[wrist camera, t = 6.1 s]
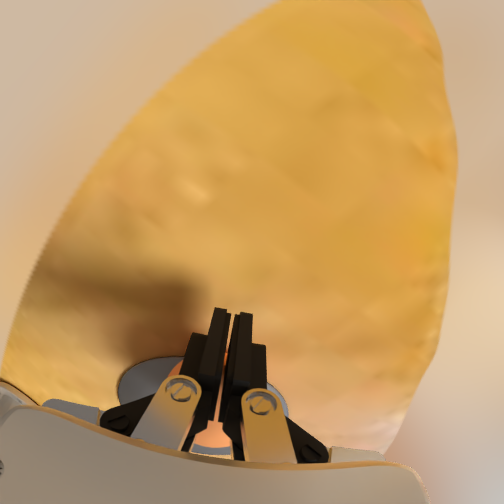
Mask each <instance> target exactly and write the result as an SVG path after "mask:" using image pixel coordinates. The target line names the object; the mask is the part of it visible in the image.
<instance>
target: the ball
mask: <svg viewBox="0 0 504 504" xmlns="http://www.w3.org/2000/svg"><path fill="white" fill-rule="evenodd" d="M227 354H228V353H225V358H224V364H223V371H222V377H221V383H220V388H219V394H218V399H217V405H216V411H215V416H214V421H209V420H208V426H207V429H205V430H203V431H202V432H200V433H198V434H197V438H196V440H195V444H198V445H201V446H205V447H211V448H221V447H228V446H230V438H229V437H228V436H227V435H226V434H225V433H224V432H223V430H222V425H223V423H221V422H218V416H219V409H220V402H221V394H222V387H223V380H224V373H225V366H226V359H227ZM182 362H183V360H182V361H181V362H179V363H178V364H177V365H176V366H175V367H174V368H173V369H172V371H171V372H170V374H169V375H168V377H170V376H174V375H179V372H180V368H181V365H182ZM168 377H167V378H168Z"/></svg>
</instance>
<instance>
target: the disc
mask: <svg viewBox="0 0 504 504" xmlns="http://www.w3.org/2000/svg"><path fill="white" fill-rule="evenodd" d="M183 359H184V357H162V358H156V359H151V360H147V361H144V362H141V363H139V364H137V365H135V366H133V367H132V368H131V369H129V370H128V371H127V372H126V373H125V374H124V376H123V377H122V379H121V381H120V383H119V388H118V396H119V400H120V403H121V405H123V404H126V403H129V402H132V401H135V400H138V399H141V398H143V397H146V396H149V395H151V394H154V393H156V392H157V391H158V389H159V387H160V386H161V384H162V382H163V381H164V380H165V379H166V378H167V377H168V375H169V374H170V372H171V371H172V369H173V368H174V367H175V366H176V365H177V364H178V363H179V362H181V361H182V360H183ZM267 390H269V391H271V392H273V393H275V394H276V395H277V396H278V397H279V399H280V401H281V403H282V407H283V411H284V415H285V416H287V417H288V415H289V414H288V408H287V404H286V402H285V400H284V398H283V397H282V395H281V394H280V393H279V392H278V391H277V390H276V389H275V388H274V387H273V386H272V385H271V384H269V383H268V382H267ZM191 452H195V453H200V454H209V455H230V454H231V452H230V446H228V447H221V448H211V447H205V446H201V445H198V444H195V443H194V445H193V448H192V450H191Z"/></svg>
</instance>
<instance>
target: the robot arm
mask: <svg viewBox="0 0 504 504" xmlns="http://www.w3.org/2000/svg"><path fill="white" fill-rule="evenodd" d="M230 319H231V313H227V309H222V308H216V307H215V309H214V313H213V317H212V320H211V324H210V328H209V332H208V335H203V334H198V333H192V335H191V338H190V341H189V344H188V347H187V350H186V353H185V356H184V359H183V362H182V365H181V368H180V372H179V375H174V376H170V377H168V378H166V379H165V380H164V381H163V382H162V384H161V386H160V387H159V389H158V391H157V392H156V393H154V394H151V395H149V396H146V397H143V398H141V399H138V400H135V401H132V402H129V403H126V404H123V405H120V406H117V407H114V408H111V409H109V410H107V411H101V410H100V409H99V408H97V407H91V406H86V405H81V404H76V403H72V402H67V401H63V400H59V399H50V400H47V401H46V402H44V403H43V405H42V406H38V405H37V404H36V403H34V402H33V401H32V400H31V399H29V398H28V397H27V396H26V395H24V394H23V393H22V392H20V391H19V390H17V389H16V388H14V387H13V386H11V385H9V384H7V383H5V382H0V504H431V502H430V499H429V496H428V493H427V491H426V488H425V486H424V484H423V482H422V480H421V478H420V476H419V475H418V474H417V472H415V470H413V469H412V468H410V467H408V466H405V465H403V464H399V463H394V462H387V461H386V460H385V458H384V456H383V455H382V454H380V453H379V452H376V451H368V450H358V449H350V448H342V447H335V446H332V447H331V448H327V447H325V446H324V445H323V444H322V443H321V442H319V441H318V440H317V439H315V438H314V437H313V436H311V435H310V434H309V433H307V432H306V431H305V430H303V429H302V428H301V427H299V426H298V425H297V424H295V423H294V422H293V421H292V420H290V419H289V418H288V417H287V416H285V415H284V411H283V407H282V403H281V401H280V399H279V397H278V396H277V395H276V394H275V393H273V392H271V391H269V390H267V369H266V346H265V345H261V344H254V343H252V321H253V314H250V313H244V312H240V315H237V314H235V317H234V322H233V328H232V333H231V338H230V343H229V349H228V354H227V359H226V366H225V373H224V380H223V387H222V394H221V402H220V409H219V416H218V422H221V423H223V425H222V430H223V432H224V433H225V434H226V435H227V436H228V437H229V438H230V452H231V460H230V459H222V458H215V457H209V456H203V455H198V454H192V453H191V450H192V448H193V445H194V443H195V440H196V438H197V434H198V433H200V432H202V431H203V430H205V429H207V426H208V420H209V421H214V416H215V411H216V405H217V399H218V394H219V388H220V383H221V377H222V371H223V364H224V358H225V351H226V344H227V338H228V331H229V325H230Z"/></svg>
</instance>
